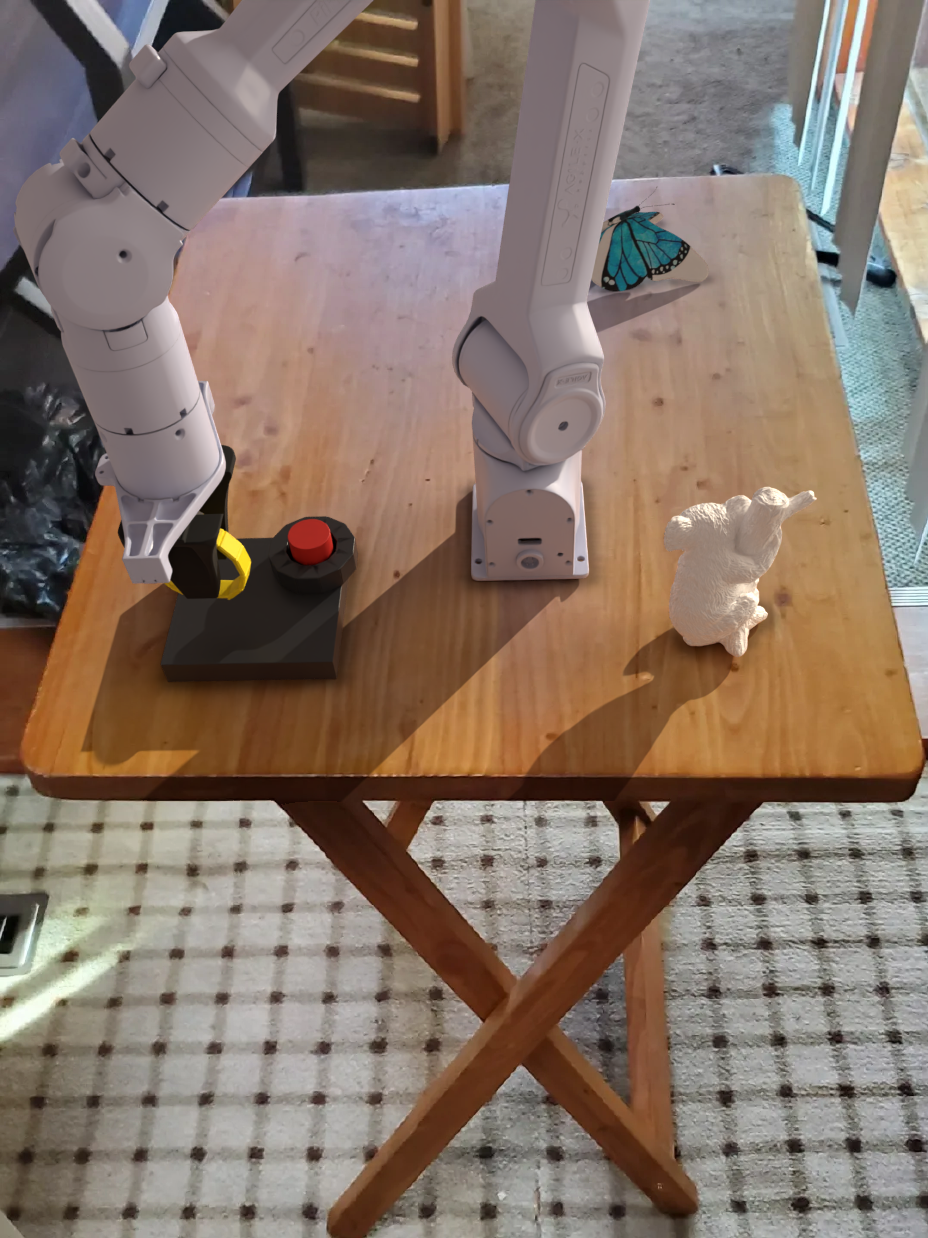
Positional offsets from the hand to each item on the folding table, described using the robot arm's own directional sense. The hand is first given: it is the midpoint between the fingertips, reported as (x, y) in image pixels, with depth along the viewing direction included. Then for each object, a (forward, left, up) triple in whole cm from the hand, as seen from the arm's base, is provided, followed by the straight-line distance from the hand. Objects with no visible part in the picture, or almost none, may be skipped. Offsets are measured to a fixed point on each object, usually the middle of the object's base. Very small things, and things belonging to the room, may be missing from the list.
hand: (207, 574), depth 67 cm
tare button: (+5, -5, -3) cm, 8 cm away
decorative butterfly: (+43, -30, -7) cm, 53 cm away
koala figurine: (0, -32, -7) cm, 33 cm away
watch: (0, 0, -2) cm, 2 cm away
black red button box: (+2, -2, -6) cm, 7 cm away
